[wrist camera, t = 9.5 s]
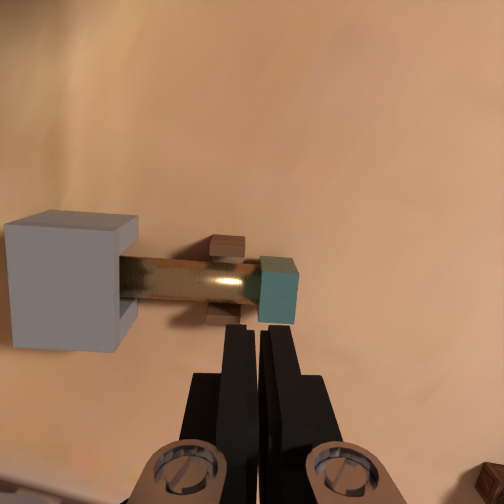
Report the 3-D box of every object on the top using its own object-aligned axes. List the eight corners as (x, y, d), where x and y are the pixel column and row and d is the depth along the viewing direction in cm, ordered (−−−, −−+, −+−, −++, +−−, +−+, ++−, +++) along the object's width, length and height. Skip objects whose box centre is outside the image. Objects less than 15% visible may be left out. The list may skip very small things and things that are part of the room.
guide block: (213, 234, 38) (209, 243, 34) (245, 236, 38) (245, 246, 35) (209, 308, 40) (205, 325, 36) (239, 310, 40) (239, 327, 36)
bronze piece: (90, 245, 37) (67, 259, 32) (292, 258, 38) (299, 273, 33) (91, 290, 38) (69, 310, 33) (287, 302, 39) (293, 324, 34)
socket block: (50, 209, 37) (3, 224, 30) (138, 215, 38) (112, 231, 31) (55, 311, 40) (13, 347, 33) (137, 316, 40) (114, 352, 33)
